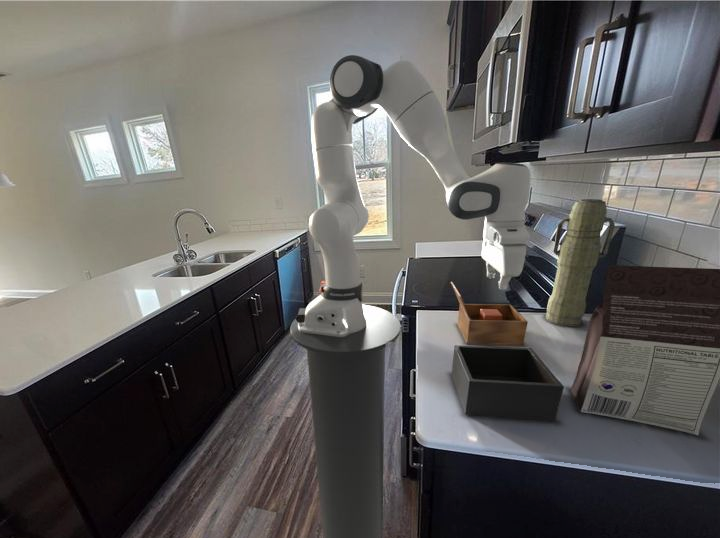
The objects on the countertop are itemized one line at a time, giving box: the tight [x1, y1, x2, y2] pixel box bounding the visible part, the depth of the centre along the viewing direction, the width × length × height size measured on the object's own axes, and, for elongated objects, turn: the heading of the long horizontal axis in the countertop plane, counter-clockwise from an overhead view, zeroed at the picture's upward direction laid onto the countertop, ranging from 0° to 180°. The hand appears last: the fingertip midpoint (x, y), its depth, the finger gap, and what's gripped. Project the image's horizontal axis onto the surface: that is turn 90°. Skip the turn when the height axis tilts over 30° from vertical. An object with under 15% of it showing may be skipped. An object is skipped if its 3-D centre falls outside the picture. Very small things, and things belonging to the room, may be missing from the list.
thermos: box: [545, 198, 616, 327], centre depth 90 cm, size 9×12×35 cm
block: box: [479, 309, 502, 321], centre depth 89 cm, size 4×4×6 cm
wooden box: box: [457, 303, 529, 347], centre depth 89 cm, size 14×12×7 cm
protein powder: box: [569, 264, 720, 436], centre depth 55 cm, size 16×9×28 cm, turn 66°
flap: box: [450, 281, 470, 318], centre depth 88 cm, size 7×12×1 cm
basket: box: [451, 344, 565, 422], centre depth 65 cm, size 16×14×8 cm
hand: (496, 283), depth 85 cm, fingers open, 8 cm apart
